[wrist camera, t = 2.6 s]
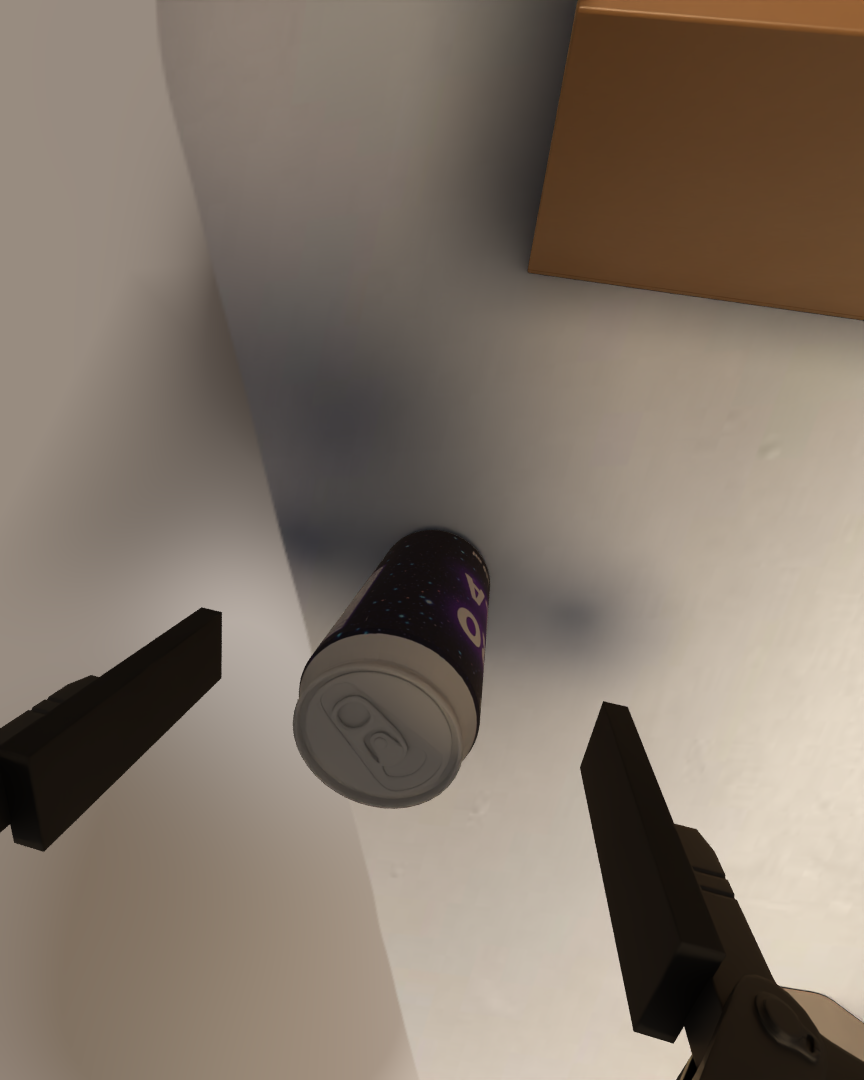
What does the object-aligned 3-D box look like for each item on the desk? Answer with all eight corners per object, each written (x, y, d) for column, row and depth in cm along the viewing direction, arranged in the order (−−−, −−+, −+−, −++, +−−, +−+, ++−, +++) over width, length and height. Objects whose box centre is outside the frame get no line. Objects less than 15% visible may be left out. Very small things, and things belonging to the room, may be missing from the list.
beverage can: (432, 641, 25) (372, 846, 14) (364, 567, 24) (240, 718, 13) (512, 585, 23) (520, 767, 12) (442, 502, 22) (378, 613, 11)
